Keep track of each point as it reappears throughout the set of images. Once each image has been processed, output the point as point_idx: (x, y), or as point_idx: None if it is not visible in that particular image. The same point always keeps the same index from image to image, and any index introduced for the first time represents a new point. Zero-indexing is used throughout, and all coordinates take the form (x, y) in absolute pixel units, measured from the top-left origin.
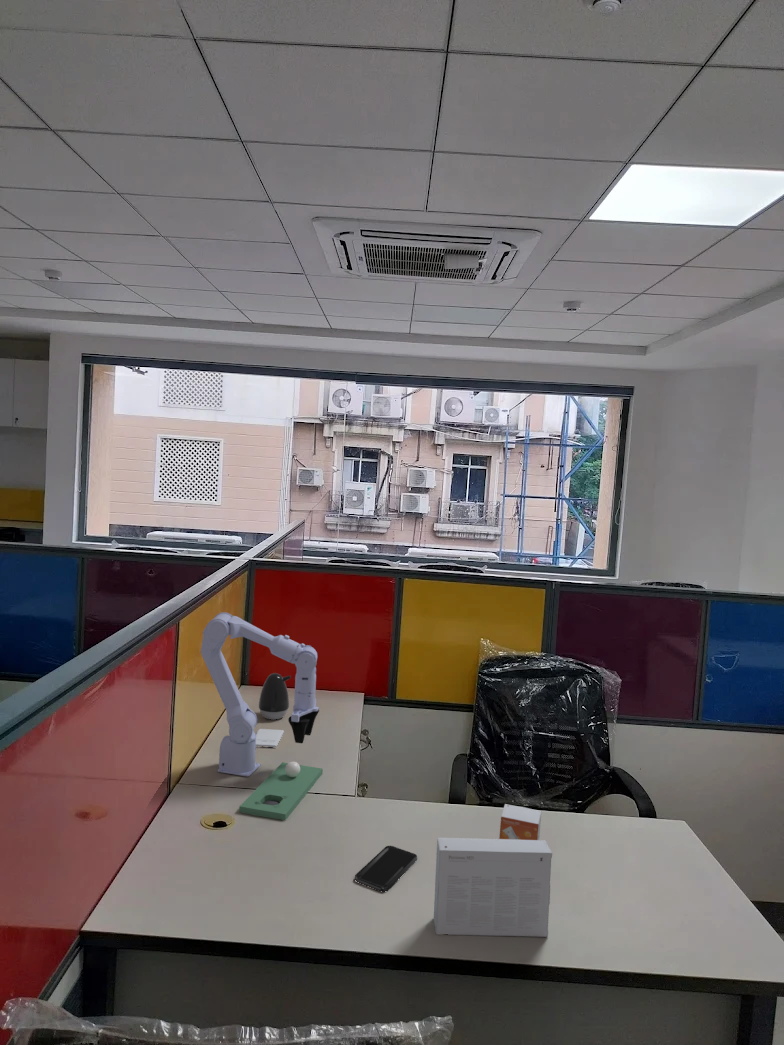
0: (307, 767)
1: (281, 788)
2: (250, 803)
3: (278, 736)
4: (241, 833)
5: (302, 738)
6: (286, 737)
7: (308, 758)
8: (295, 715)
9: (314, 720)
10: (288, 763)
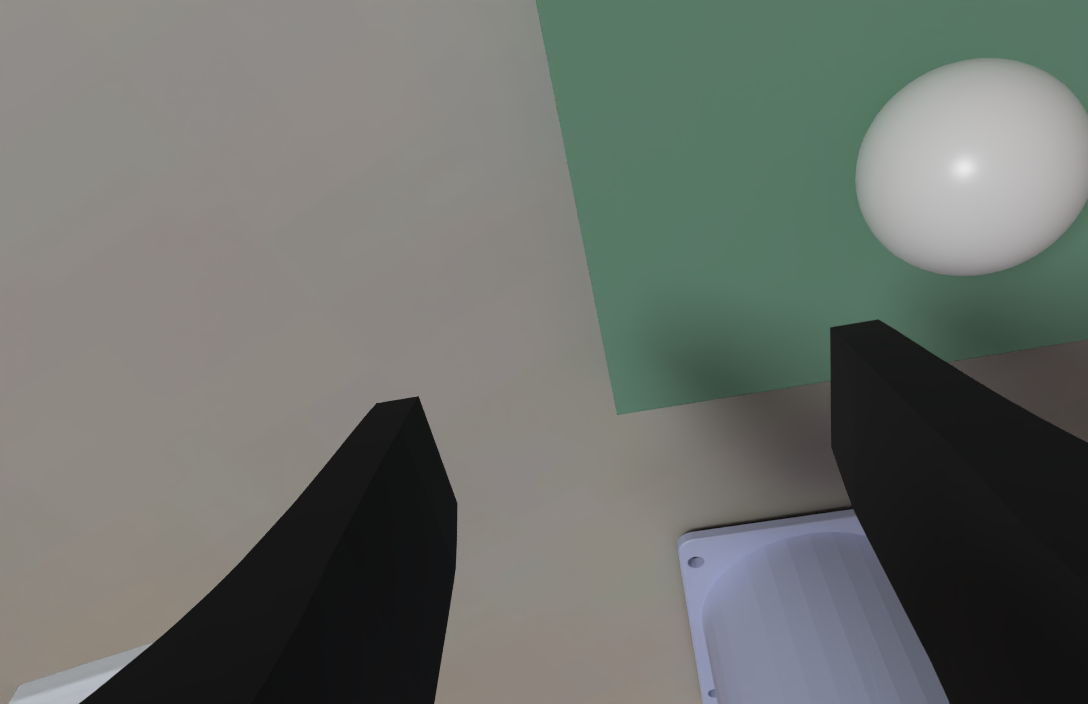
0: (598, 115)
1: None
2: None
3: None
4: None
5: (952, 375)
6: (63, 638)
7: (262, 284)
8: None
9: (188, 621)
10: (1022, 258)
